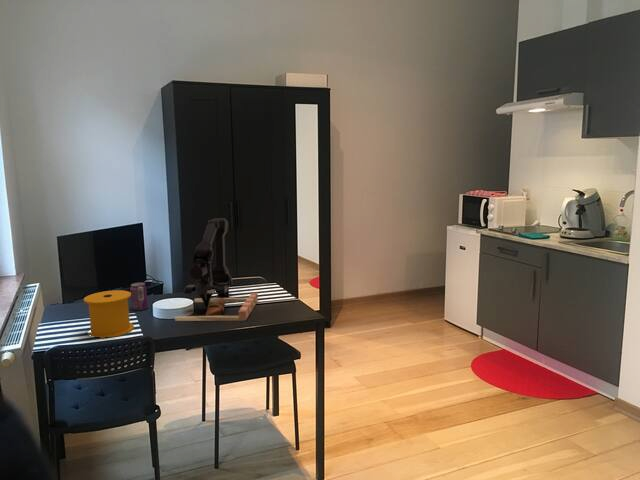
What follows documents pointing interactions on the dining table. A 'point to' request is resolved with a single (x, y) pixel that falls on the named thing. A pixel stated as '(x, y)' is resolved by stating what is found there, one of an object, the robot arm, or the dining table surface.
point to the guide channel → (242, 316)
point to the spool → (109, 313)
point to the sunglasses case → (216, 308)
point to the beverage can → (138, 296)
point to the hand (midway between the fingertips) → (206, 307)
